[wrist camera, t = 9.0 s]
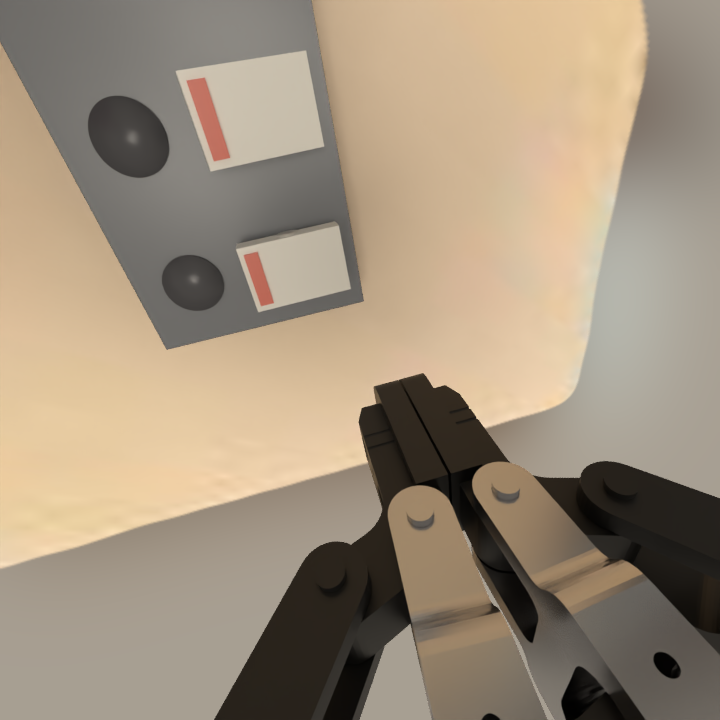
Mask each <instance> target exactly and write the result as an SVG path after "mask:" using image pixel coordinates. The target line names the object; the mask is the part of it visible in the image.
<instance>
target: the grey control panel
mask: <svg viewBox="0 0 720 720" xmlns="http://www.w3.org/2000/svg"><path fill="white" fill-rule="evenodd" d="M0 42H1V44H2V46H3V48H4V50H5V52H6V53H7V55H8V57H9V59H10V61H11V63H12V64H13V66H14V68H15V70H16V72H17V74H18V76H19V77H20V79H21V81H22V83H23V85H24V87H25V89H26V90H27V92H28V94H29V96H30V98H31V100H32V101H33V103H34V105H35V107H36V109H37V111H38V113H39V114H40V116H41V118H42V120H43V122H44V124H45V125H46V127H47V129H48V131H49V133H50V135H51V137H52V138H53V140H54V142H55V144H56V146H57V148H58V150H59V151H60V153H61V155H62V157H63V159H64V161H65V162H66V164H67V166H68V168H69V170H70V172H71V174H72V175H73V177H74V179H75V181H76V183H77V185H78V186H79V188H80V190H81V192H82V194H83V196H84V198H85V199H86V201H87V203H88V205H89V207H90V209H91V211H92V212H93V214H94V216H95V218H96V220H97V222H98V223H99V225H100V227H101V229H102V231H103V233H104V235H105V236H106V238H107V240H108V242H109V244H110V246H111V248H112V249H113V251H114V253H115V255H116V257H117V259H118V260H119V262H120V264H121V266H122V268H123V270H124V272H125V273H126V275H127V277H128V279H129V281H130V283H131V284H132V286H133V288H134V290H135V292H136V294H137V296H138V297H139V299H140V301H141V303H142V305H143V307H144V309H145V310H146V312H147V314H148V316H149V318H150V320H151V321H152V323H153V325H154V327H155V329H156V331H157V333H158V334H159V336H160V338H161V340H162V342H163V344H164V345H165V347H166V349H171V348H176V347H180V346H184V345H188V344H192V343H196V342H200V341H204V340H208V339H212V338H216V337H220V336H224V335H228V334H233V333H237V332H241V331H245V330H249V329H253V328H257V327H261V326H265V325H269V324H273V323H277V322H281V321H286V320H290V319H294V318H298V317H302V316H306V315H310V314H314V313H318V312H322V311H326V310H330V309H334V308H339V307H343V306H347V305H351V304H355V303H359V302H363V301H364V300H363V294H362V288H361V282H360V277H359V271H358V265H357V259H356V254H355V248H354V242H353V236H352V231H351V225H350V219H349V213H348V208H347V202H346V196H345V191H344V185H343V179H342V173H341V168H340V162H339V156H338V150H337V145H336V139H335V133H334V127H333V122H332V116H331V110H330V104H329V99H328V93H327V87H326V82H325V76H324V70H323V64H322V59H321V53H320V47H319V41H318V36H317V30H316V24H315V18H314V13H313V7H312V1H311V0H0ZM305 50H306V53H307V58H308V63H309V69H310V74H311V79H312V84H313V90H314V95H315V100H316V105H317V111H318V116H319V121H320V126H321V132H322V137H323V142H324V147H320V148H315V149H311V150H306V151H302V152H297V153H293V154H288V155H284V156H279V157H275V158H270V159H266V160H261V161H256V162H252V163H247V164H243V165H238V166H234V167H229V168H225V169H220V170H216V171H210V170H209V167H208V164H207V161H206V158H205V155H204V153H203V150H202V147H201V144H200V141H199V138H198V136H197V133H196V130H195V127H194V124H193V121H192V118H191V116H190V113H189V110H188V107H187V104H186V101H185V99H184V96H183V93H182V90H181V87H180V84H179V82H178V79H177V76H176V71H177V70H184V69H190V68H197V67H203V66H209V65H216V64H222V63H229V62H235V61H241V60H248V59H254V58H261V57H267V56H273V55H280V54H286V53H293V52H299V51H305ZM334 221H335V222H336V223H337V224H338V225H339V229H340V234H341V240H342V245H343V250H344V255H345V261H346V266H347V271H348V276H349V281H350V287H351V289H349V290H345V291H341V292H337V293H333V294H329V295H325V296H321V297H317V298H313V299H309V300H305V301H301V302H297V303H293V304H289V305H285V306H281V307H278V308H274V309H270V310H266V311H262V312H258V310H257V307H256V305H255V302H254V299H253V296H252V293H251V290H250V288H249V285H248V282H247V279H246V276H245V274H244V271H243V268H242V265H241V262H240V259H239V257H238V254H237V251H236V246H237V244H238V243H243V242H247V241H251V240H256V239H260V238H264V237H269V236H273V235H277V234H278V233H281V232H284V231H288V230H299V229H303V228H308V227H312V226H316V225H321V224H325V223H329V222H334Z"/></svg>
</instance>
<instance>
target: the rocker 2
mask: <svg viewBox="0 0 720 720" xmlns="http://www.w3.org/2000/svg"><path fill="white" fill-rule="evenodd" d="M236 251H237V254H238V257H239V259H240V262H241V265H242V268H243V271H244V274H245V276H246V279H247V282H248V285H249V288H250V290H251V293H252V296H253V299H254V302H255V305H256V307H257V310H258V312H262V311H266V310H270V309H274V308H278V307H281V306H285V305H289V304H293V303H297V302H301V301H305V300H309V299H313V298H317V297H321V296H325V295H329V294H333V293H337V292H341V291H345V290H349V289H351V287H350V281H349V276H348V271H347V266H346V261H345V255H344V250H343V245H342V240H341V234H340V229H339V225H338V224H337V223H336V222H335V221H334V222H329V223H325V224H321V225H316V226H312V227H308V228H303V229H299V230H288V231H284V232H281V233H278V234H277V235H273V236H269V237H264V238H260V239H256V240H251V241H247V242H243V243H238V244H237V246H236Z"/></svg>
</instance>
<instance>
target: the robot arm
mask: <svg viewBox="0 0 720 720" xmlns="http://www.w3.org/2000/svg"><path fill="white" fill-rule="evenodd" d="M374 393H375V399H376V404H375V405H372V406H368V407H364V408H362V410H361V414H360V418H359V426H360V431H361V435H362V439H363V444H364V448H365V453H366V457H367V460H368V464H369V467H370V470H371V473H372V477H373V480H374V483H375V486H376V489H377V493H378V496H379V499H380V502H381V506H382V513H381V516H380V518H379V520H378V522H377V523H376V525H375V526H374V527H373V528H372V529H371V530H370V531H369V532H368V533H367V534H366V535H364V536H363V537H362V538H360V539H359V540H357V541H356V542H354V543H353V544H352V545H350V544H348V543H344V542H329V543H326V544H323V545H321V546H319V547H317V548H316V549H314V550H313V551H312V552H311V553H310V554H309V555H308V556H307V557H306V558H305V560H304V562H303V563H302V565H301V566H300V568H299V570H298V572H297V573H296V576H295V577H294V579H293V581H292V582H291V584H290V586H289V588H288V589H287V591H286V593H285V595H284V596H283V598H282V600H281V602H280V604H279V605H278V607H277V609H276V611H275V613H274V614H273V616H272V618H271V620H270V621H269V623H268V625H267V627H266V628H265V630H264V632H263V634H262V636H261V637H260V639H259V641H258V643H257V644H256V646H255V648H254V650H253V652H252V653H251V655H250V657H249V659H248V660H247V662H246V664H245V666H244V668H243V669H242V671H241V673H240V675H239V676H238V678H237V680H236V682H235V683H234V685H233V687H232V689H231V691H230V692H229V694H228V696H227V698H226V700H225V701H224V703H223V705H222V707H221V709H220V710H219V712H218V714H217V716H216V718H215V719H214V720H359V719H360V717H361V714H362V710H363V708H364V705H365V702H366V699H367V696H368V693H369V690H370V687H371V684H372V681H373V679H374V675H375V673H376V670H377V667H378V664H379V661H380V658H381V655H382V652H383V649H384V646H385V645H386V644H387V643H388V642H389V641H391V640H392V639H393V638H394V637H395V636H396V635H397V634H399V633H400V632H401V631H402V630H403V629H404V628H406V627H407V626H408V625H409V624H411V628H412V633H413V637H414V641H415V646H416V650H417V655H418V659H419V664H420V668H421V672H422V677H423V682H424V686H425V690H426V696H427V700H428V705H429V709H430V713H431V718H432V720H547V717H546V715H545V713H544V710H543V708H542V706H541V703H540V701H539V698H538V696H537V693H536V691H535V689H534V686H533V684H532V681H531V679H530V677H529V674H528V672H527V669H526V667H525V665H524V662H523V660H522V657H521V655H520V653H519V650H518V648H517V645H516V643H515V641H514V638H513V636H512V633H511V631H510V629H509V627H508V625H507V622H506V620H505V619H504V617H503V615H502V613H501V612H500V610H499V609H498V608H497V607H496V606H494V605H493V604H492V602H491V601H490V599H489V596H488V594H487V592H486V589H485V587H484V584H483V582H482V579H481V577H480V574H479V572H478V570H479V571H480V573H481V575H482V577H483V579H484V580H485V582H486V584H487V586H488V587H489V589H490V591H491V593H492V595H493V596H494V598H495V600H496V601H497V603H498V605H499V607H500V609H501V610H502V612H503V614H504V616H505V617H506V619H507V621H508V623H509V625H510V626H511V628H512V630H513V632H514V633H515V635H516V637H517V639H518V640H519V642H520V644H521V646H522V648H523V650H524V653H525V656H526V659H527V662H528V666H529V669H530V672H531V675H532V677H533V679H534V682H535V684H536V686H537V688H538V690H539V692H540V694H541V696H542V697H543V699H544V701H545V703H546V705H547V707H548V708H549V710H550V712H551V714H552V716H553V717H554V719H555V720H720V498H717V497H714V496H712V495H709V494H706V493H703V492H700V491H698V490H695V489H692V488H689V487H686V486H684V485H681V484H678V483H675V482H672V481H670V480H667V479H664V478H661V477H658V476H656V475H653V474H650V473H647V472H644V471H642V470H639V469H636V468H633V467H630V466H628V465H624V464H621V463H617V462H608V461H603V462H596V463H593V464H590V465H589V466H587V467H586V468H585V469H584V470H583V472H582V473H581V477H580V478H544V477H538V476H534V475H532V474H531V473H529V472H528V471H527V470H525V469H524V468H522V467H520V466H518V465H516V464H512V463H510V462H509V461H508V460H507V458H506V457H505V456H504V454H503V453H502V452H501V451H500V449H499V448H498V446H497V445H496V444H495V442H494V441H493V439H492V438H491V437H490V435H489V434H488V432H487V431H486V430H485V428H484V427H483V426H482V424H481V423H480V421H479V420H478V419H476V416H475V415H474V413H473V412H472V410H471V409H469V406H468V405H467V404H466V402H465V401H464V399H463V398H462V397H461V395H460V394H459V393H457V392H455V391H454V390H452V389H451V388H449V387H447V386H446V385H444V386H441V387H437V388H433V387H432V385H431V383H430V382H429V380H428V379H427V377H426V376H425V375H424V374H423V373H422V374H418V375H415V376H411V377H407V378H403V379H400V380H399V381H398V380H396V381H393V382H389V383H385V384H382V385H378V386H374ZM463 530H465V532H466V534H467V536H468V538H469V540H470V542H471V544H472V554H471V552H470V549H469V547H468V544H467V542H466V539H465V537H464V534H463V532H462V531H463ZM476 566H477V567H476ZM477 568H478V570H477Z"/></svg>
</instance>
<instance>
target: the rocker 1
mask: <svg viewBox="0 0 720 720" xmlns="http://www.w3.org/2000/svg"><path fill="white" fill-rule="evenodd" d="M176 76H177V79H178V82H179V84H180V87H181V90H182V93H183V96H184V99H185V101H186V104H187V107H188V110H189V113H190V116H191V118H192V121H193V124H194V127H195V130H196V133H197V136H198V138H199V141H200V144H201V147H202V150H203V153H204V155H205V158H206V161H207V164H208V167H209V170H210V171H216V170H220V169H225V168H229V167H234V166H238V165H243V164H247V163H252V162H256V161H261V160H266V159H270V158H275V157H279V156H284V155H288V154H293V153H297V152H302V151H306V150H311V149H315V148H320V147H324V142H323V137H322V132H321V126H320V121H319V116H318V111H317V105H316V100H315V95H314V90H313V84H312V79H311V74H310V69H309V63H308V58H307V53H306V50H305V51H299V52H293V53H286V54H280V55H273V56H267V57H261V58H254V59H248V60H241V61H235V62H229V63H222V64H216V65H209V66H203V67H197V68H190V69H184V70H177V71H176Z"/></svg>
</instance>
